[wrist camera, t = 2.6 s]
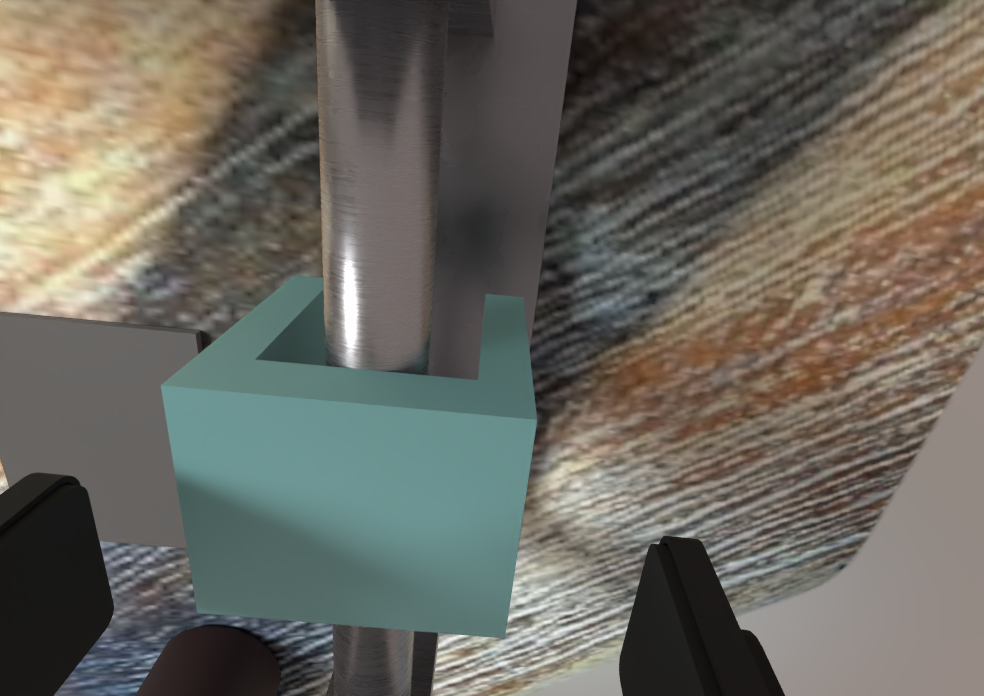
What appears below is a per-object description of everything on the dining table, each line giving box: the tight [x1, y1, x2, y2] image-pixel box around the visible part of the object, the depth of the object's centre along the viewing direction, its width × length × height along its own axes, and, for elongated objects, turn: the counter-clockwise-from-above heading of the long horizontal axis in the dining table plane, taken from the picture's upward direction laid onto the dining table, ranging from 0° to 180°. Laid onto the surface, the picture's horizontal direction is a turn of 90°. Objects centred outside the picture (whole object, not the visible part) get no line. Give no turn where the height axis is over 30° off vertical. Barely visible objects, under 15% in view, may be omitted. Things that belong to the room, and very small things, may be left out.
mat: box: [0, 312, 203, 548], centre depth 26 cm, size 12×10×1 cm
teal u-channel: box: [161, 275, 537, 638], centre depth 13 cm, size 5×6×6 cm
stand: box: [315, 0, 577, 696], centre depth 16 cm, size 22×8×14 cm, turn 175°
